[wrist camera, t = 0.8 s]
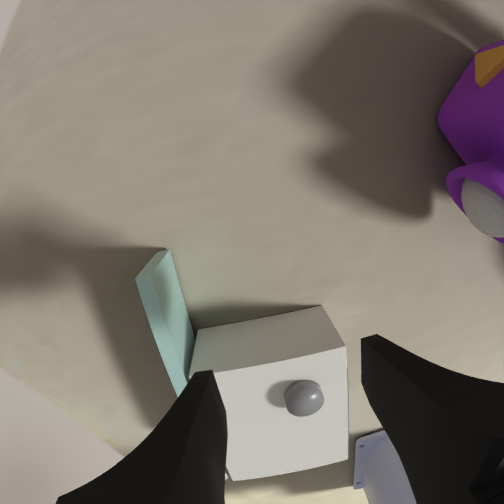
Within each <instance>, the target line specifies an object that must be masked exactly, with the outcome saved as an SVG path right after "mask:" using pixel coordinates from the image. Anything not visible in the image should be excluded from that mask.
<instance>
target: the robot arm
mask: <svg viewBox="0 0 504 504" xmlns="http://www.w3.org/2000/svg"><path fill="white" fill-rule="evenodd" d="M361 383H362V385H363V388H364V391H365V393H366V396H367V398H368V401H369V403H370V405H371V407H372V409H373V411H374V412H375V414H376V416H377V418H378V419H379V421H380V423H381V425H382V426H383V428H384V430H383V431H380V432H376V433H373V434H370V435H367V436H364V437H361V438H358V439H357V440H356V442H355V464H354V480H353V488H354V489H360V488H364V491H365V494H366V497H367V499H368V502H369V504H504V383H499V382H493V381H488V380H483V379H478V378H474V377H470V376H467V375H464V374H461V373H457V372H454V371H451V370H449V369H446V368H443V367H441V366H439V365H436V364H434V363H432V362H429V361H427V360H425V359H423V358H421V357H419V356H417V355H415V354H413V353H411V352H409V351H407V350H405V349H404V348H402V347H400V346H398V345H396V344H394V343H393V342H391V341H389V340H387V339H385V338H384V337H382V336H380V335H378V334H375V335H372V336H368V337H365V338H361ZM227 441H228V430H227V415H226V409H225V406H224V404H223V401H222V398H221V395H220V392H219V389H218V386H217V383H216V380H215V376H214V373H213V370H206V371H198V372H195V373H194V374H193V375H192V377H191V378H190V380H189V382H188V383H187V385H186V386H185V388H184V389H183V391H182V392H181V394H180V395H179V397H178V398H177V400H176V401H175V403H174V404H173V405H172V407H171V408H170V410H169V411H168V412H167V414H166V415H165V416H164V418H163V419H162V420H161V421H160V422H159V424H158V425H157V426H156V427H155V429H154V430H153V431H152V432H151V433H150V434H149V435H148V436H147V438H146V439H145V440H144V441H143V442H142V443H141V444H139V445H138V446H137V447H136V448H135V449H134V450H133V451H132V452H131V453H130V454H128V455H127V456H126V457H125V458H123V459H122V460H121V461H120V462H118V463H117V464H116V465H115V466H114V467H112V468H111V469H109V470H108V471H106V472H105V473H103V474H102V475H100V476H99V477H97V478H95V479H94V480H92V481H90V482H89V483H87V484H85V485H83V486H81V487H79V488H77V489H75V490H73V491H71V492H69V493H67V494H65V495H62V496H60V497H58V500H57V502H56V504H225V500H224V485H225V471H226V456H227Z"/></svg>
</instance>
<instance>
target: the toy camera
mask: <svg viewBox="0 0 504 504" xmlns="http://www.w3.org/2000/svg"><path fill="white" fill-rule="evenodd" d="M437 122H438V125H439V128H440V129H441V131H442V133H443V134H444V136H445V137H446V138H447V140H448V141H449V142H450V144H451V145H452V147H453V148H454V149H455V151H456V152H457V153H458V155H459V156H460V157H461V159H462V160H463V161H464V163H465V164H466V165H465V166H461V167H458V168H456V169H453V170H452V171H450V172H449V173H448V175H447V177H446V186H447V189H448V191H449V193H450V195H451V197H452V199H453V200H454V202H455V203H456V204H457V206H458V207H459V208H460V209H461V210H462V211H463V212H464V214H465V215H466V216H467V217H468V218H469V220H470V222H471V223H472V224H473V225H474V226H475V227H476V228H477V229H478V230H480V231H481V232H482V233H484V234H486V235H489V236H491V237H493V238H494V239H496V240H497V241H499V242H501V243H503V244H504V40H502V41H499V42H496V43H493V44H490V45H488V46H486V47H484V48H482V49H480V50H479V51H478V52H477V53H476V54H475V55H474V57H473V58H472V60H471V61H470V63H469V64H468V66H467V67H466V69H465V71H464V72H463V74H462V75H461V77H460V78H459V80H458V81H457V83H456V84H455V86H454V88H453V89H452V91H451V92H450V94H449V95H448V97H447V98H446V100H445V101H444V103H443V105H442V106H441V108H440V110H439V113H438V117H437Z"/></svg>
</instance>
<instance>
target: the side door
mask: <svg viewBox="0 0 504 504" xmlns="http://www.w3.org/2000/svg"><path fill="white" fill-rule="evenodd" d="M135 281H136V284H137V288H138V291H139V294H140V297H141V300H142V303H143V306H144V309H145V312H146V315H147V318H148V321H149V324H150V327H151V330H152V332H153V335H154V338H155V341H156V343H157V346H158V349H159V351H160V354H161V357H162V359H163V362H164V365H165V367H166V370H167V372H168V375H169V377H170V380H171V382H172V385H173V387H174V389H175V392H176V394H177V396H178V397H179V395H180V394H181V392H182V391H183V389H184V388H185V386H186V385H187V383H188V382H189V380H190V378H189V373H190V368H191V362H192V357H193V352H194V347H195V342H196V339H195V336H194V333H193V330H192V326H191V323H190V320H189V316H188V313H187V310H186V306H185V303H184V299H183V296H182V292H181V289H180V285H179V281H178V278H177V274H176V270H175V267H174V263H173V259H172V255H171V251H170V249H168V250H163V251H158V252H156V254H155V255H154V256H153V257H152V258H151V260H150V261H149V262H148V263H147V264H146V266H145V267H144V268H143V269H142V270H141V272H140V273H139V274H138V275H137V277H136V278H135ZM227 479H228V470H227V467H226V471H225V480H227Z"/></svg>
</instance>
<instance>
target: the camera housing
mask: <svg viewBox="0 0 504 504" xmlns="http://www.w3.org/2000/svg"><path fill="white" fill-rule="evenodd" d="M206 370H213V373H214V376H215V380H216V383H217V386H218V389H219V392H220V395H221V398H222V401H223V404H224V406H225V409H226V415H227V430H228V441H227V456H226V467H227V470H228V472H229V474H230V476H231V478H232V480H233V481H239V480H247V479H255V478H262V477H269V476H275V475H281V474H286V473H292V472H297V471H302V470H307V469H311V468H316V467H320V466H324V465H328V464H332V463H336V462H340V461H344V460H347V459H348V436H349V401H348V369H347V358H346V345H345V344H344V342H343V340H342V339H341V337H340V335H339V333H338V332H337V330H336V328H335V327H334V325H333V323H332V321H331V320H330V318H329V316H328V315H327V313H326V311H325V310H324V308H323V306H322V305H321V306H317V307H312V308H307V309H303V310H298V311H294V312H289V313H284V314H279V315H274V316H269V317H264V318H259V319H254V320H249V321H243V322H238V323H232V324H227V325H221V326H215V327H210V328H204V329H198V332H197V337H196V342H195V347H194V352H193V357H192V362H191V368H190V373H189V378H191V377H192V375H193V374H194V373H195V372H198V371H206Z"/></svg>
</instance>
